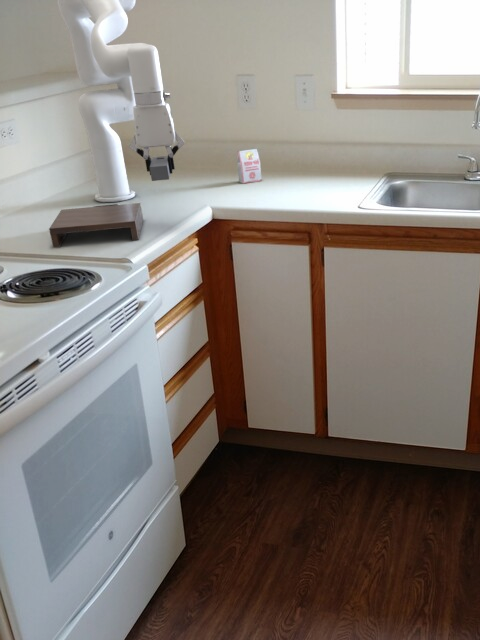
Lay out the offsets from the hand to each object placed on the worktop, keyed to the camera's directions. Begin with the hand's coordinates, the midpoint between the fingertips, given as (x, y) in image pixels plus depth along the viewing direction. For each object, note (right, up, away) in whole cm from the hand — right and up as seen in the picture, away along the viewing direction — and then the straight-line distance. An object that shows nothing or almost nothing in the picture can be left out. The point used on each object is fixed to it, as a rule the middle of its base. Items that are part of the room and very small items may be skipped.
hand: (161, 172), depth 202 cm
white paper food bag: (+19, +15, +53) cm, 58 cm away
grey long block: (0, -1, 0) cm, 1 cm away
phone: (-22, -5, +23) cm, 32 cm away
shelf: (-18, -15, +6) cm, 24 cm away
